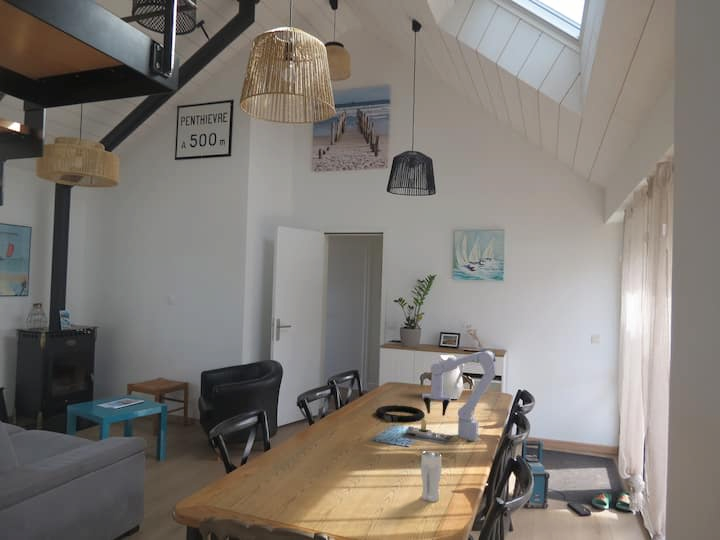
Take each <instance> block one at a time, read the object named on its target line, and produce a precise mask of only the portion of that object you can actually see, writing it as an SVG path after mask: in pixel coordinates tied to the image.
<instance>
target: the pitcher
mask: <svg viewBox="0 0 720 540" xmlns="http://www.w3.org/2000/svg"><path fill="white" fill-rule="evenodd" d="M439 357H440V358H441V361H444V360H447V359H448V358H449V357H451V358H455V359H458V358H457V357H456V356H455V355H453V354H446V355H442V354H440V356H439ZM459 366H460V367H459ZM464 372H465V364H461V365H458V367H457V369H454V370H451V371H448V372H443V396H448V397H451V399H457V400H459V398H460V397H461V395H462V393H463V390H464V381H463V376H462V375H463V373H464Z"/></svg>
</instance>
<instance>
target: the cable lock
mask: <svg viewBox="0 0 720 540" xmlns="http://www.w3.org/2000/svg"><path fill="white" fill-rule="evenodd" d="M389 412H390V413H389ZM391 412H404V413H410V414H409V415H405V414H403V415H401V414H399V415H398V414H391ZM413 413H414V414H413ZM375 415H376V416H377V417H378V418H380V419H382V420H384V421H385V422H386V423H393V422H394V423H414V422H418V421H420V422H421V419H422V418H425V417H426V415H425V412H424V411H423V409H420V408H418V407H413V406H409V405H408V406H407V405H397V404H394V405H383V406H380V407H378V408H377V409H376V411H375Z"/></svg>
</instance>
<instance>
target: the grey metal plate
mask: <svg viewBox="0 0 720 540" xmlns="http://www.w3.org/2000/svg"><path fill="white" fill-rule="evenodd" d="M406 432H407V433H413V434H416V437H422V438H429V439H435V440H442V441H445V440H446V439H447V435H448V434H446V435H445V433H439V434H437V432H433V433H431V432H432V429H427V428H426V432H421V427H420V428H419V427H413V426H408V427H407V428H406V429H405V433H406Z"/></svg>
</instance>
